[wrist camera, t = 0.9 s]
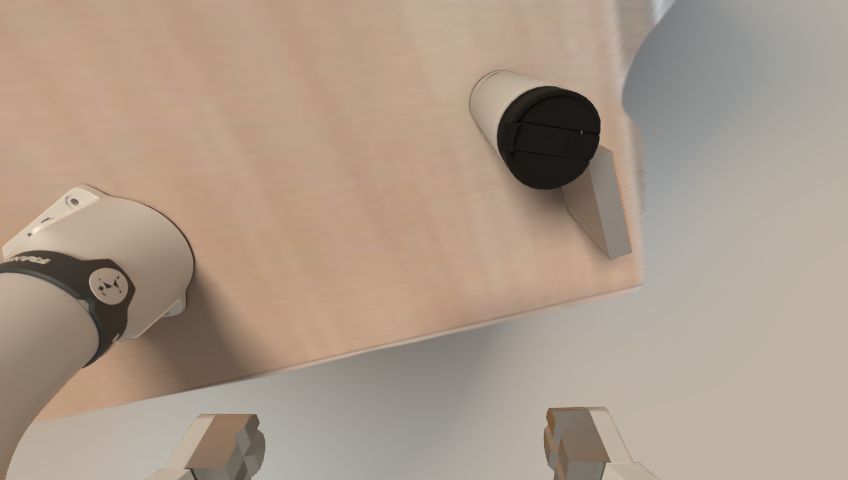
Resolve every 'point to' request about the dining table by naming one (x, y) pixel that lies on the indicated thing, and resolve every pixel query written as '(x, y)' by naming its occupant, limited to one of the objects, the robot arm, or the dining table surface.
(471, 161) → the dining table surface
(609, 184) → the tile
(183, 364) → the dining table surface
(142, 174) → the dining table surface
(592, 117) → the travel mug
